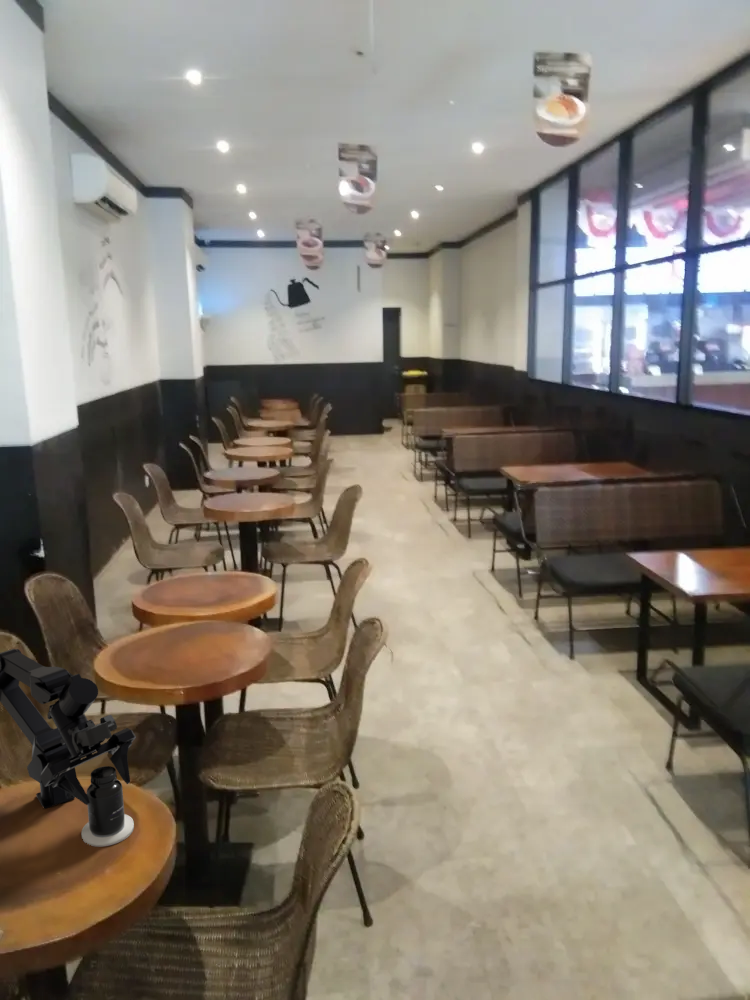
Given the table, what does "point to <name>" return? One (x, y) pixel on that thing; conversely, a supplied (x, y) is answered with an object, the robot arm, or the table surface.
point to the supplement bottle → (105, 802)
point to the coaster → (108, 839)
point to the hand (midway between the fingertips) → (108, 793)
